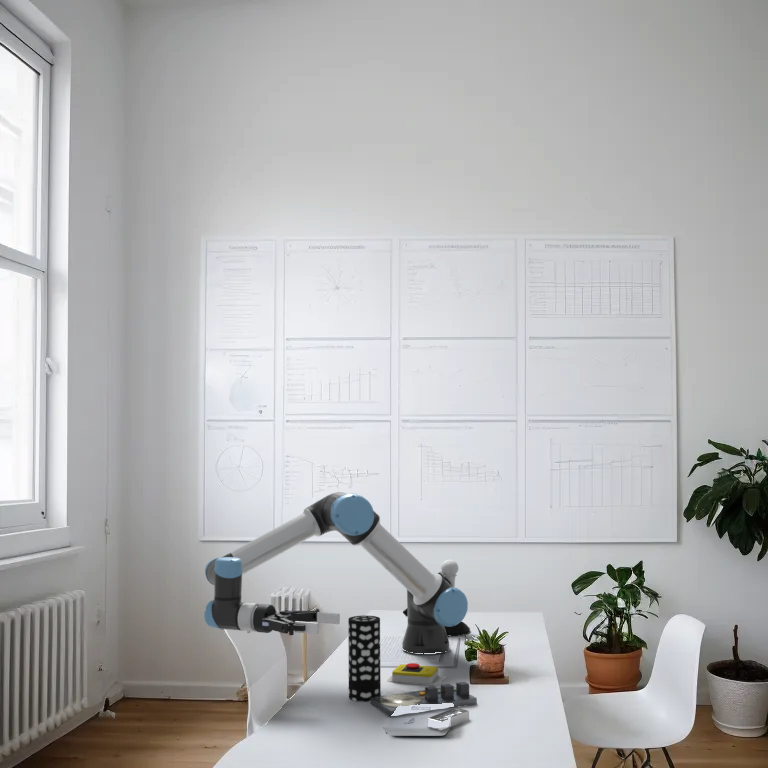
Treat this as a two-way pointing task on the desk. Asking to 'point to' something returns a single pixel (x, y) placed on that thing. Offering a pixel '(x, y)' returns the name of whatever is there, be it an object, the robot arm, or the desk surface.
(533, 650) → the desk surface
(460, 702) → the breaker board
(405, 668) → the emergency button
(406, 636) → the robot arm
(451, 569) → the sculpture
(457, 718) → the multiport hub
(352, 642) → the spotted tube
